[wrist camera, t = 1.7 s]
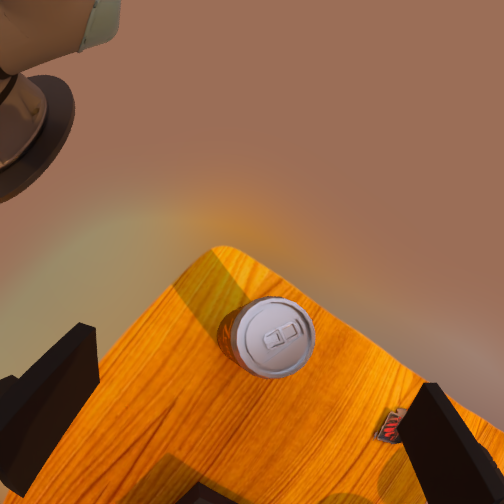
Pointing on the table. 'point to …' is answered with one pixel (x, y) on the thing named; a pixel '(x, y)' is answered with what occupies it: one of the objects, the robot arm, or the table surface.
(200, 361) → the table surface
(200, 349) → the table surface
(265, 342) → the beer can
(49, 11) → the robot arm
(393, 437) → the matchbox
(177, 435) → the table surface
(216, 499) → the socket pad
